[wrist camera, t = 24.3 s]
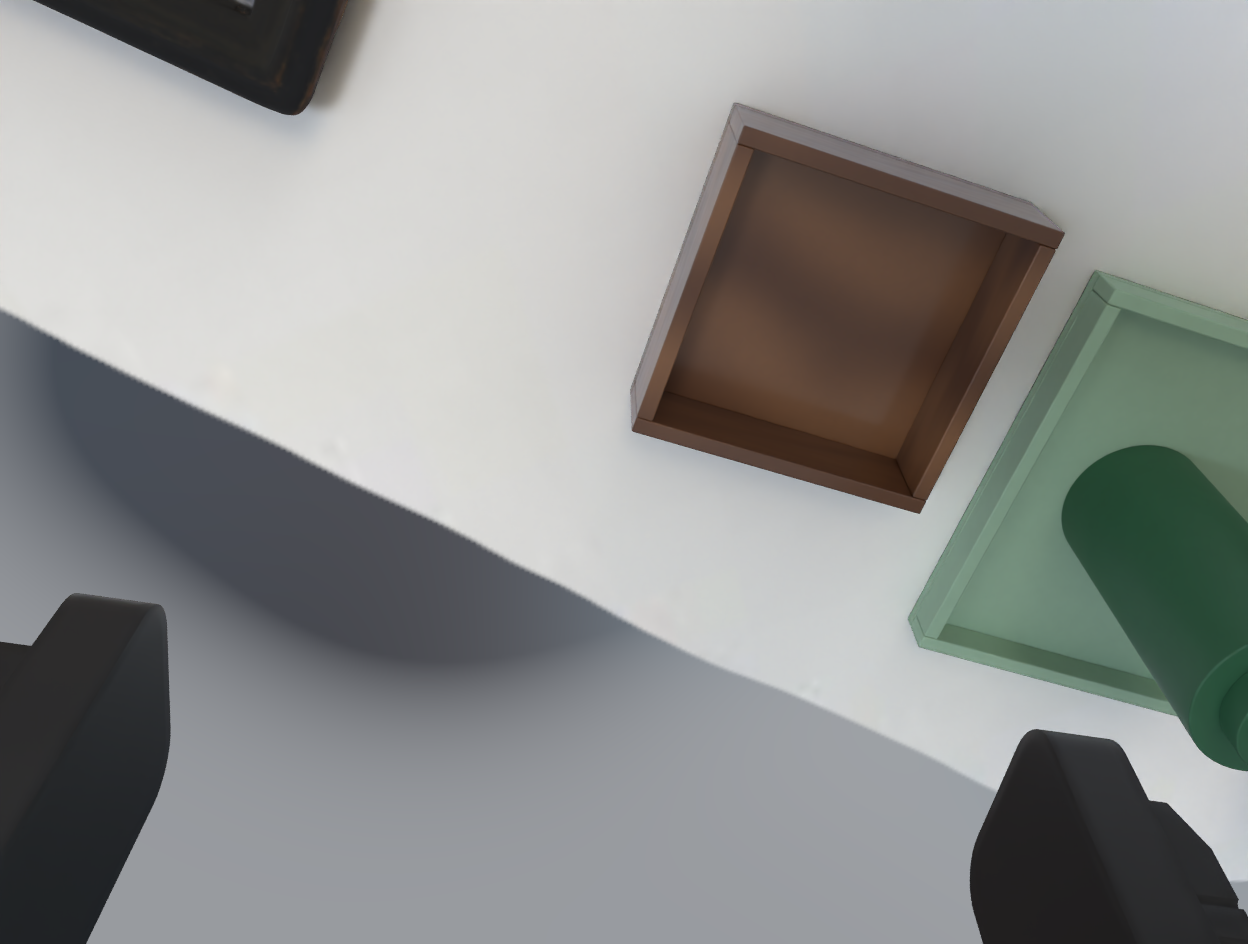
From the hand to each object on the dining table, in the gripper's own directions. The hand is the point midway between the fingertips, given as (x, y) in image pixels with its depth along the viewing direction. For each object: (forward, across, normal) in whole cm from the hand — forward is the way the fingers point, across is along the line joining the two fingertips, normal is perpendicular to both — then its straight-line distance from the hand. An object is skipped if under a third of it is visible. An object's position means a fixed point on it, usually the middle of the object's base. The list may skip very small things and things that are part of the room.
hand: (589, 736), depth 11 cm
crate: (+32, -8, +7) cm, 34 cm away
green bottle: (+32, -22, +14) cm, 41 cm away
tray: (+32, -23, +13) cm, 42 cm away
